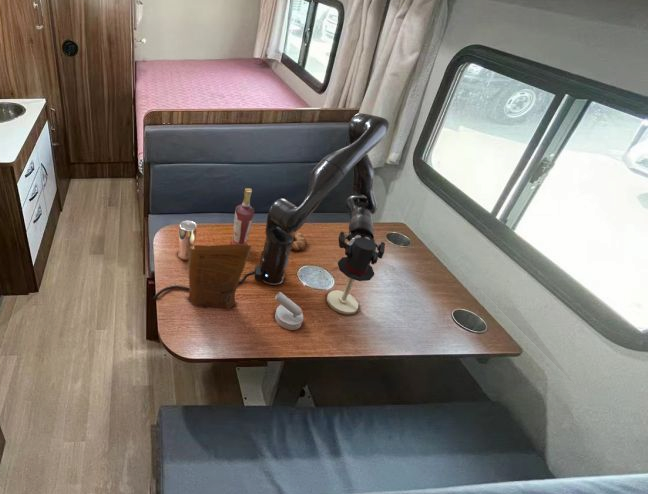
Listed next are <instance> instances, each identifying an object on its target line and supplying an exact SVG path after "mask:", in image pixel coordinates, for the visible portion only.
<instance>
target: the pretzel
mask: <svg viewBox="0 0 648 494" xmlns="http://www.w3.org/2000/svg"><path fill="white" fill-rule="evenodd" d="M292 235H293V239H294V240H293V244H292V248H291V251H295V252H296V251H300V250H301V251H302V250H304V249H305V247H306V246H307V244H308V243H307V242H308V241H307V239H306V237H305V236H304V235H303V233H300V232H298V231H296V232H294V233H292Z"/></svg>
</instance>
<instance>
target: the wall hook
mask: <svg viewBox="0 0 648 494" xmlns="http://www.w3.org/2000/svg"><path fill="white" fill-rule="evenodd" d="M274 301H276V302H277V303H279V304H280V305H278V306H277V307H276V310H275V314H274V319H275V321H276V323H277V324H278V326H280V327H282V328H283V329H285V330H289V331H290V330H291V331H295V330H299V328H301V327H302V324H303V321H304V314H303V310H302V308H301V307H300V306H299V305H298V304H296V303H295V302H294V301H292V299H290V298H289V297H287V296H286V295H285V294H283V292H281V291H279V292H278V293H276V295H275V297H274Z"/></svg>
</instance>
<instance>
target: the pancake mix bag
mask: <svg viewBox="0 0 648 494" xmlns="http://www.w3.org/2000/svg"><path fill="white" fill-rule="evenodd" d="M251 248H252V245H248V244H247V245H231V244H219V245H210V246H206V245H200V244H199V245H198V244H196V245H195V244H194V246H193V248H190V251H189V260H188V262H187V264H188V265H187V268H188V271H187V272H188V286H189V287H188V288H190V291H189V295H188V300H189V301H190V302H192V303H193V305H196V306H200V307H210V308H220V309H226V310H227V309H229V308H231V307H233V306H234V305H235V304H236V291H237V289H238V287H239V285H238V283H239V281H240V280H241V277H242V274H243V272H244V270H245V267H246V263H247V260H248V258H249V256H250V252H251Z"/></svg>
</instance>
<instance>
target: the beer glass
mask: <svg viewBox="0 0 648 494" xmlns="http://www.w3.org/2000/svg"><path fill="white" fill-rule="evenodd" d="M197 227H198V226H197V223H196V222H194V221H193V220H183V221H181V222H180V223H179V228H178V244H179V249H178V254H177V255H178V257H179V259H181V260H182V261H183V260H184V261H189V251H190V248H194V245H195V243H196V241H197V232H198V231H197V229H198V228H197Z"/></svg>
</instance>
